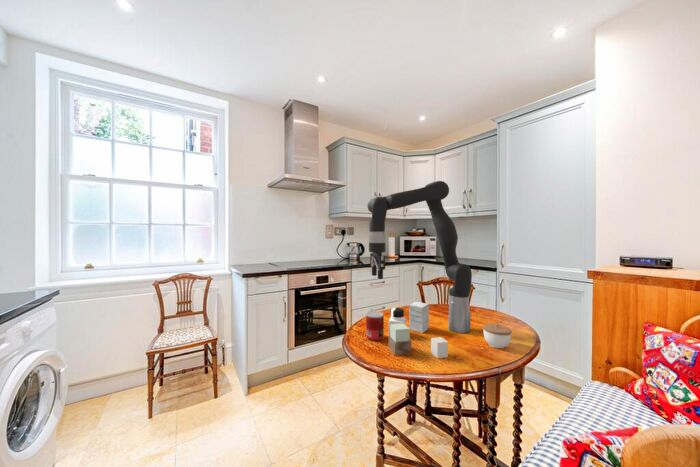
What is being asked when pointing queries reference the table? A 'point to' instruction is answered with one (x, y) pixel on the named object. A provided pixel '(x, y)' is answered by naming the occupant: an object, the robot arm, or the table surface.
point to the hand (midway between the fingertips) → (377, 277)
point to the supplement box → (419, 316)
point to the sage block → (399, 332)
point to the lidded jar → (497, 335)
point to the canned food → (375, 325)
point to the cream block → (439, 347)
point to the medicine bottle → (397, 317)
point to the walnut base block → (399, 347)
